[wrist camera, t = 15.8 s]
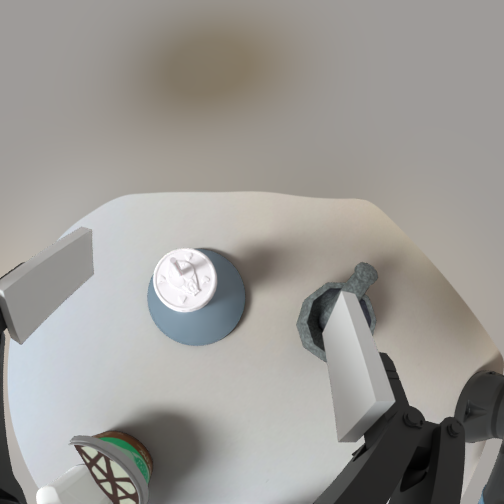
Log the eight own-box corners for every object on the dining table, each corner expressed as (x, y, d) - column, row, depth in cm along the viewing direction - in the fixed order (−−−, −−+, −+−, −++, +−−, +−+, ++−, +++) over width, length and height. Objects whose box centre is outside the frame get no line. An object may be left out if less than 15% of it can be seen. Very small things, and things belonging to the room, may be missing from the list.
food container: (178, 482, 27) (166, 516, 17) (143, 491, 25) (124, 523, 16) (133, 411, 30) (105, 429, 20) (99, 423, 28) (65, 440, 19)
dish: (212, 235, 40) (212, 232, 38) (263, 312, 37) (264, 311, 35) (134, 281, 36) (131, 278, 35) (180, 363, 33) (179, 363, 32)
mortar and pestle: (340, 368, 35) (386, 372, 24) (279, 351, 35) (304, 351, 24) (359, 295, 39) (405, 273, 28) (303, 274, 39) (334, 244, 28)
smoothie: (196, 263, 37) (183, 215, 24) (229, 298, 35) (232, 268, 22) (160, 293, 35) (126, 261, 22) (192, 331, 34) (172, 320, 20)
